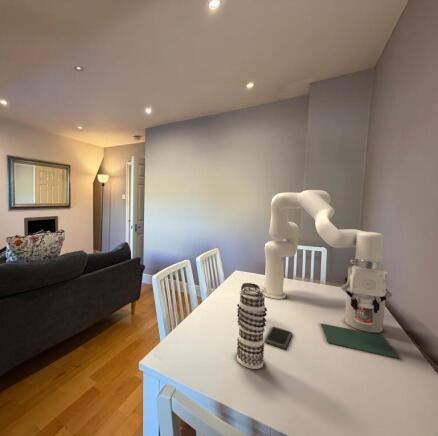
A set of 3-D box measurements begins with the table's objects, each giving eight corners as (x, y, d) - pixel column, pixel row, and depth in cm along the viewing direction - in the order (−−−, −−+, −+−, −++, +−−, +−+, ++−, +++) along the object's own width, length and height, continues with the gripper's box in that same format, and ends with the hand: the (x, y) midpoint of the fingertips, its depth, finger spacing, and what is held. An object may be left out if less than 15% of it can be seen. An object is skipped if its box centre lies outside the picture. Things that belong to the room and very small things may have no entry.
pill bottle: (354, 322, 95) (356, 297, 94) (354, 317, 99) (356, 293, 98) (373, 326, 91) (375, 301, 91) (372, 321, 95) (374, 297, 95)
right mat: (328, 343, 94) (328, 342, 94) (321, 324, 108) (321, 323, 108) (398, 358, 85) (399, 357, 85) (381, 336, 99) (381, 335, 99)
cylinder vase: (375, 322, 110) (379, 268, 108) (388, 336, 99) (393, 276, 97) (341, 316, 115) (344, 264, 114) (349, 329, 104) (353, 272, 102)
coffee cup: (258, 314, 118) (259, 283, 117) (260, 322, 110) (261, 289, 109) (239, 311, 121) (240, 281, 120) (240, 319, 113) (241, 287, 112)
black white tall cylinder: (262, 373, 78) (266, 297, 76) (232, 363, 83) (235, 291, 81) (266, 357, 85) (269, 288, 83) (238, 349, 90) (240, 283, 88)
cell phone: (264, 342, 94) (264, 340, 94) (272, 327, 105) (272, 325, 105) (285, 349, 90) (285, 347, 90) (292, 333, 101) (292, 331, 101)
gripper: (342, 263, 94) (339, 309, 95) (402, 269, 86) (398, 319, 88) (337, 259, 101) (334, 302, 102) (393, 264, 93) (389, 310, 94)
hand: (364, 309), depth 95 cm, fingers closed on pill bottle, 5 cm apart
